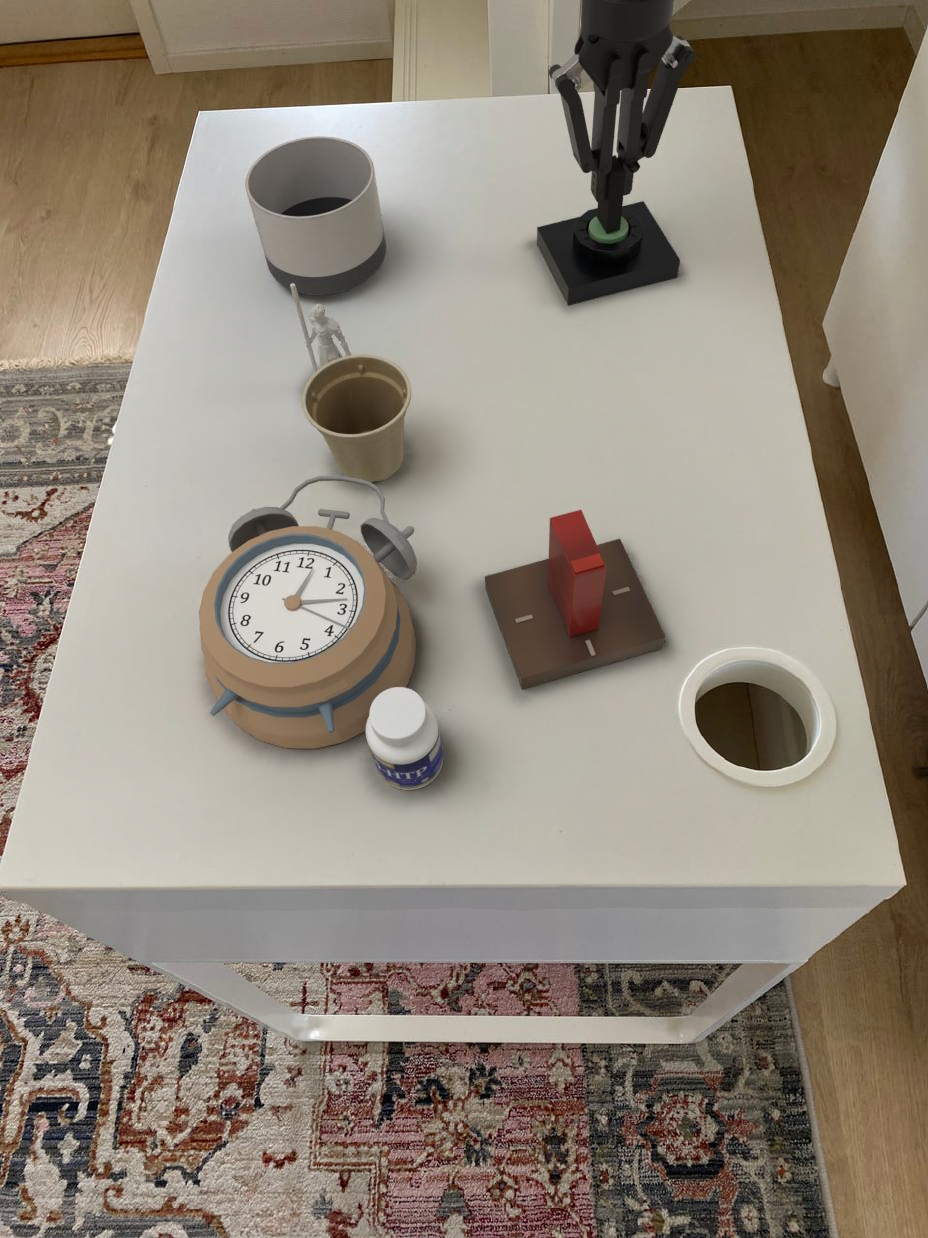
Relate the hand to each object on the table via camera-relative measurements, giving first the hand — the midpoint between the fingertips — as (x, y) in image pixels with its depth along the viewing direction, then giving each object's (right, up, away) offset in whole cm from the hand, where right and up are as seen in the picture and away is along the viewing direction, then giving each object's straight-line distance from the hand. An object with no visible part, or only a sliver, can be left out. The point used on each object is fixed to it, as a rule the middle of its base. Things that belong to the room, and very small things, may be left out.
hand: (608, 223), depth 96 cm
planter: (-29, -2, +6) cm, 30 cm away
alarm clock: (-27, -41, -16) cm, 51 cm away
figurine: (-27, -17, -3) cm, 32 cm away
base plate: (-6, -40, -17) cm, 44 cm away
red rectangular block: (-6, -39, -19) cm, 44 cm away
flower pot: (-23, -25, -8) cm, 35 cm away
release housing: (0, -2, +4) cm, 5 cm away
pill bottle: (-19, -51, -23) cm, 59 cm away
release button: (0, -1, +2) cm, 2 cm away
